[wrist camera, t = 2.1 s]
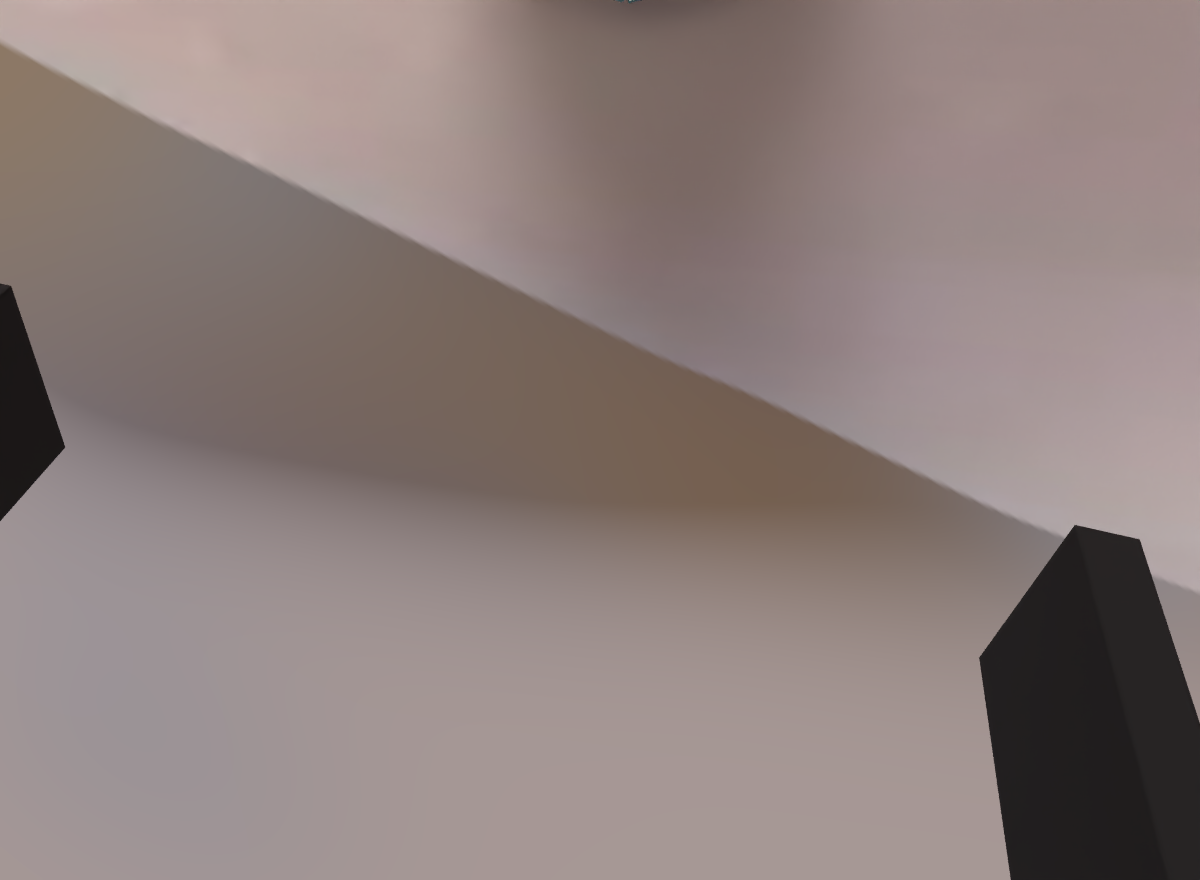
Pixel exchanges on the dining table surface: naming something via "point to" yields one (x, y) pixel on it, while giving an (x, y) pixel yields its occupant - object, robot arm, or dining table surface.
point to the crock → (629, 0)
